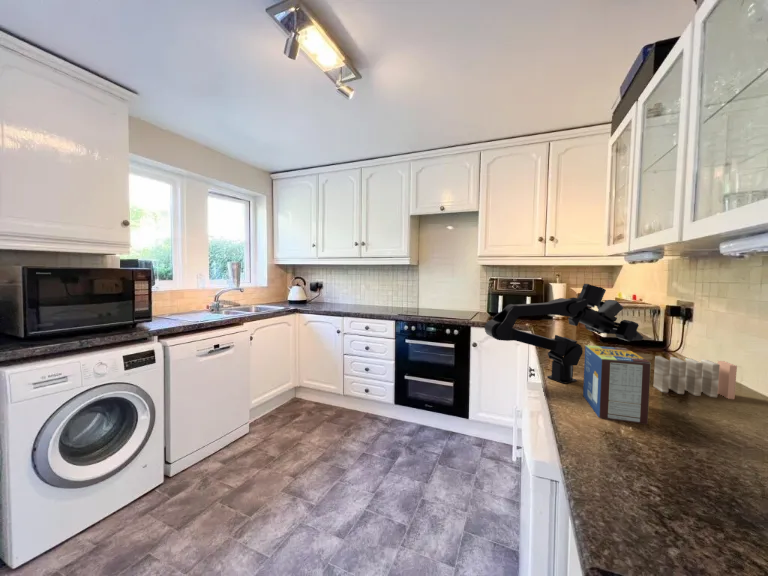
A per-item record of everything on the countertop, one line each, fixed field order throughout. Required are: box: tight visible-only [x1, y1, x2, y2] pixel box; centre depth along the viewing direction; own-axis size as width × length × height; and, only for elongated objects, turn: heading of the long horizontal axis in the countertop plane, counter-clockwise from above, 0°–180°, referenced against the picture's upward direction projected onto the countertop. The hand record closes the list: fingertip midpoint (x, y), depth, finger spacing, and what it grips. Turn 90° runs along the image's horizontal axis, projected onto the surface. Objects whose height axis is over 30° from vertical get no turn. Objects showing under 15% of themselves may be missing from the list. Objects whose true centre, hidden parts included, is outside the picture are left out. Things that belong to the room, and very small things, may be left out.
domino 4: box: [700, 359, 720, 399], centre depth 96 cm, size 2×5×10 cm, turn 163°
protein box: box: [582, 344, 652, 425], centre depth 85 cm, size 10×15×16 cm
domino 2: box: [668, 356, 686, 395], centre depth 98 cm, size 2×5×10 cm, turn 163°
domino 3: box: [684, 357, 703, 397], centre depth 97 cm, size 2×5×10 cm, turn 163°
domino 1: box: [653, 355, 670, 393], centre depth 99 cm, size 2×5×10 cm, turn 163°
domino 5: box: [717, 360, 738, 400], centre depth 95 cm, size 2×5×10 cm, turn 163°
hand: (630, 335), depth 108 cm, fingers open, 9 cm apart
